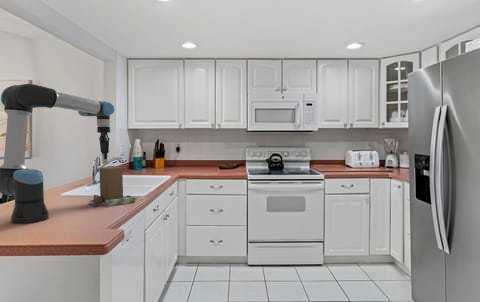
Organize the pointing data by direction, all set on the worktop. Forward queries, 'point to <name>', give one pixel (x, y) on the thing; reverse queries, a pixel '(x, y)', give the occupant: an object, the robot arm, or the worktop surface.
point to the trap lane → (112, 201)
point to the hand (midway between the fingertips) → (105, 164)
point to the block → (111, 183)
